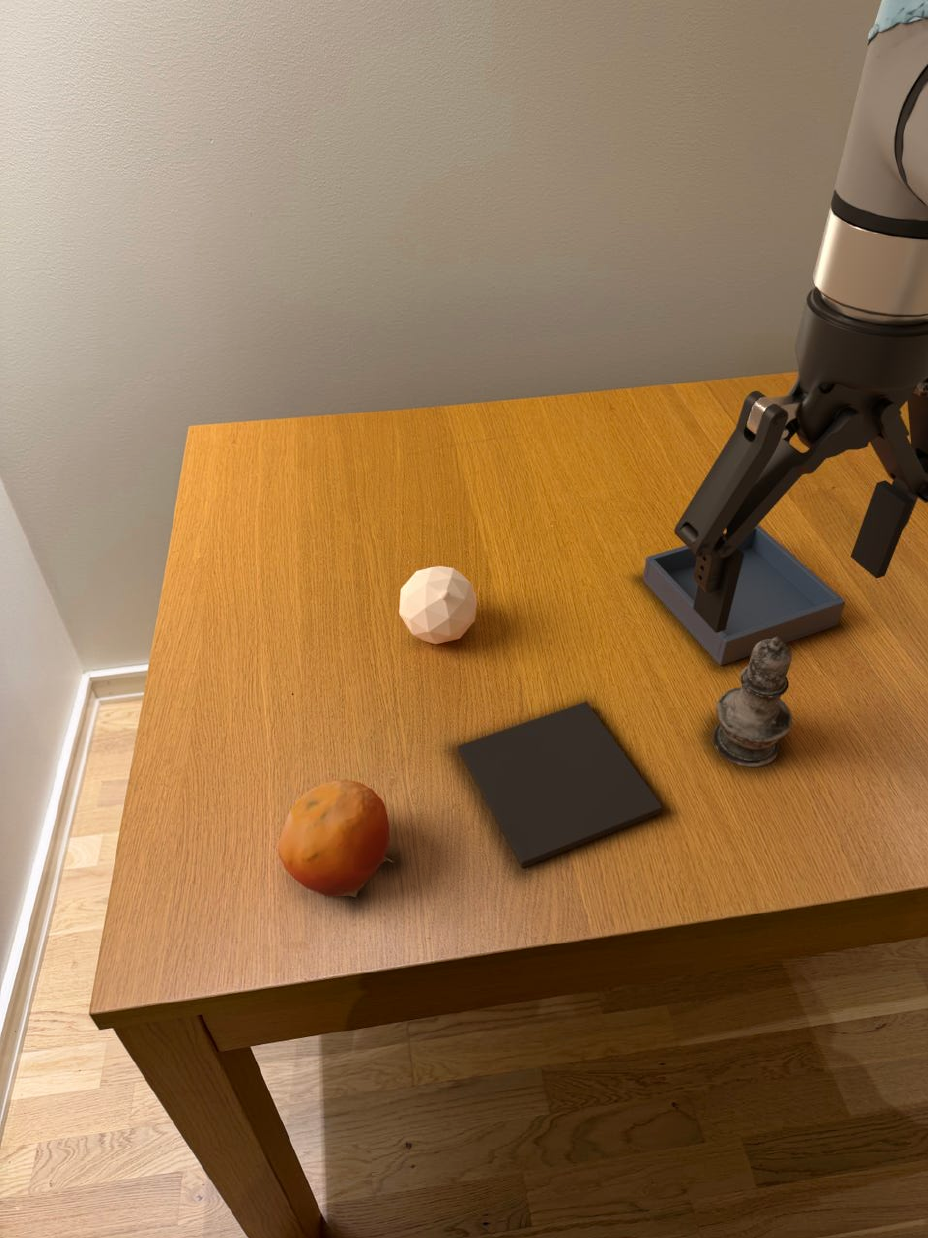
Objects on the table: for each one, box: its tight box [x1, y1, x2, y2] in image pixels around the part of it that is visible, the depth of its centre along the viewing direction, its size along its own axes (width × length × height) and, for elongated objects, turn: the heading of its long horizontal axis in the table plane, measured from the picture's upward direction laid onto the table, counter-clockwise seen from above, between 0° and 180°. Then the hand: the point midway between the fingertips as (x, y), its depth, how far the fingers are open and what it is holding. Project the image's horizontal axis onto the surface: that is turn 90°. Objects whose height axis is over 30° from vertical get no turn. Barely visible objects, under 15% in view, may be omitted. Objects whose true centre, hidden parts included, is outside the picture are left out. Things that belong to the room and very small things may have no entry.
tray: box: [642, 524, 847, 667], centre depth 85 cm, size 13×13×3 cm
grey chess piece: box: [712, 637, 793, 768], centre depth 69 cm, size 6×6×12 cm
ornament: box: [398, 565, 478, 645], centre depth 81 cm, size 7×7×8 cm
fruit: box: [277, 778, 394, 899], centre depth 64 cm, size 8×8×8 cm
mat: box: [457, 701, 663, 869], centre depth 71 cm, size 12×12×1 cm
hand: (790, 592), depth 62 cm, fingers open, 13 cm apart
